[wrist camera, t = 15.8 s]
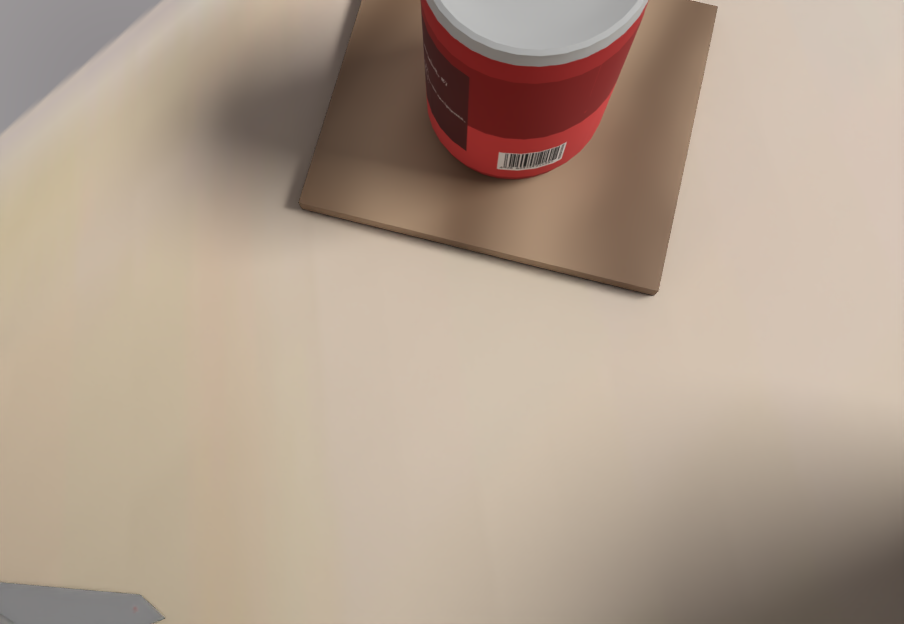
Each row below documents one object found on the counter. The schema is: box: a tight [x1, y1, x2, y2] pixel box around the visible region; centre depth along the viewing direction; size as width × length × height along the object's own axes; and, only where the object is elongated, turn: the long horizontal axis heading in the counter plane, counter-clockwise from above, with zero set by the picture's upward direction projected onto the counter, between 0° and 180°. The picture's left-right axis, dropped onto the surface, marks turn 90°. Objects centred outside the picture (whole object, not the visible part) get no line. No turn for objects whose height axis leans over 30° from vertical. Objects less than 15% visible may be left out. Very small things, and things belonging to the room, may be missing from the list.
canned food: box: [420, 0, 649, 179], centre depth 33 cm, size 8×8×11 cm
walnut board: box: [299, 0, 718, 295], centre depth 39 cm, size 16×14×1 cm
